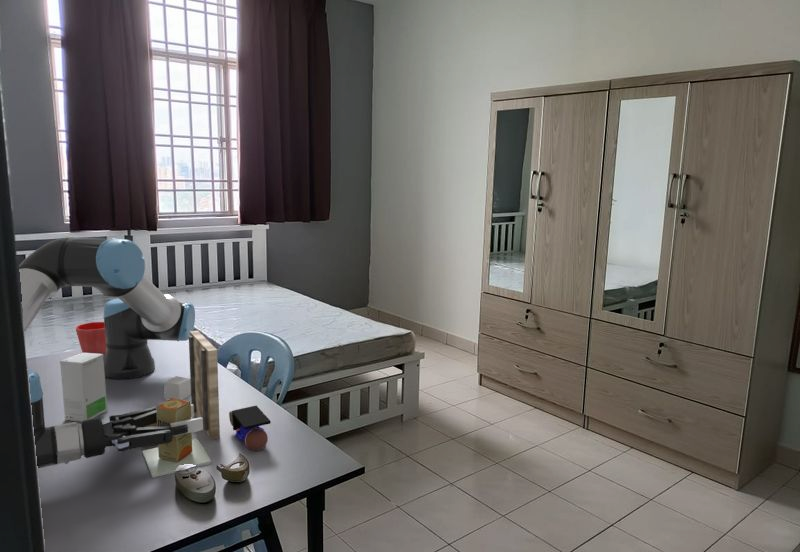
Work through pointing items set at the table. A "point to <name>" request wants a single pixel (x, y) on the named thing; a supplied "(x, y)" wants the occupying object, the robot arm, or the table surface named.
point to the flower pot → (92, 337)
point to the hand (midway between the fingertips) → (197, 416)
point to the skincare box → (83, 386)
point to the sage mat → (166, 466)
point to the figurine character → (250, 426)
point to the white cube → (177, 388)
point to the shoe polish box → (169, 414)
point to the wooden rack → (204, 383)
